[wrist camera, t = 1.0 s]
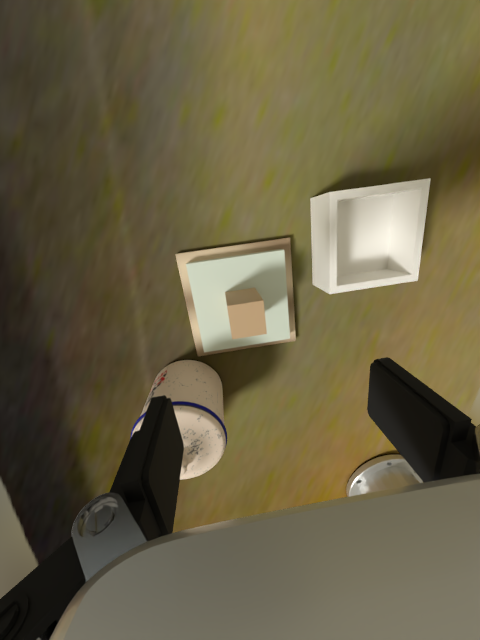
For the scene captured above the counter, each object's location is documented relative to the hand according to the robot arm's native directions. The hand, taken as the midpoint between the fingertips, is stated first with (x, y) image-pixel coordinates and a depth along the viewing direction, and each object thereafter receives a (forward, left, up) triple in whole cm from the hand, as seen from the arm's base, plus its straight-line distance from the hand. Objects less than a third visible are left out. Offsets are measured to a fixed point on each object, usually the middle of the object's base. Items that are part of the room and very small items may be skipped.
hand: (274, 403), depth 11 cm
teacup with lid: (-12, +8, -18) cm, 23 cm away
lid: (0, 0, -17) cm, 17 cm away
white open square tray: (+5, -13, -18) cm, 23 cm away
